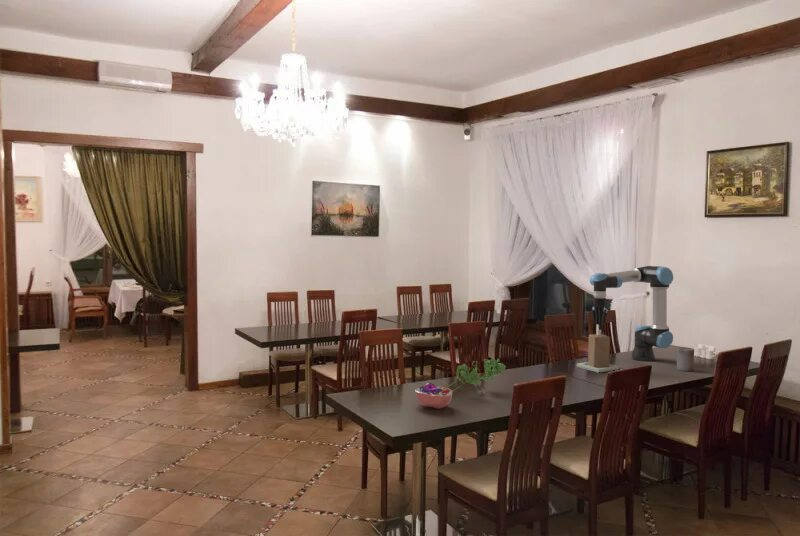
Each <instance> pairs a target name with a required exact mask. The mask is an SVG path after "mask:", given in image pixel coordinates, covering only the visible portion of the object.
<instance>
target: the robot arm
mask: <svg viewBox="0 0 800 536" xmlns="http://www.w3.org/2000/svg"><path fill="white" fill-rule="evenodd" d="M673 280H674V273H673V270H671V269H670V268H669V267H666V266H658V265H656V266H655V265H646V266H641V267H634V268H632V269H629V270H624V271H617V272H610V273H602V272H597V273H594V274H592V275H591V276H590V277H589V283H590V284H591V286H593V299H592V300H593V306H592V307H590V310H591V316H592V317H591V318H592V322H593V324H595V331H596V333H595V335H602V329H603V325H605V324H606V320H607V315H608V313H609V308H608V309H607V308H606V304H607V299H606V297H607V289H617V288H621V287H622V285H623V283H624V284H625V283H632V282H633V283H647V284H649V287H650V289H652V325H637V326H635V328H634V347H633V350H632V353H631V359H633V360H636V361H641V360H643V361H642V362H652V361H656V356H655V353H654V352H655V351H654V348H653V347H655V348H658V349H667V348H669V347H670V346H671V345H672V344H673V341H674V335H673V332H671V331H670V327H669V326H668V324H667V323H668V322H667V319H668V318H667V315H668V314H667V311H668V310H667V309H668V307H667V304H668V303H667V302H668V300H667V299H668V295H667V292H668V291H667V290H668V289H669V287H670V285H671V284H672V283H673Z"/></svg>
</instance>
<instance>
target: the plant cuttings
mask: <svg viewBox="0 0 800 536" xmlns="http://www.w3.org/2000/svg"><path fill="white" fill-rule="evenodd" d="M483 362H484V365H483V367H484V373H485V374H484V375H482V376H480V375H479V373H481V372H480V369H479V367H478V361H476V365H474V363H475V360H473V361H472V363H471V364H472V366H473V368H472V370H471V367H469V366H468V365H467V364H466V363H463V364H461V365H457V367H456V381H458V380H459V382H460V383H462V384H461V385H460V386H458V387H457V388H455V389H452V391H453V392H454V391H455V390H457V389H458V388H460V387H462V386H463V385H464V384H466V383H468V384H471V385H473V387H477V386H478V387H480V390H479V389H478V390H477V391H476V392H477V394H478V395H481V396H482V395H484V394H485V393H486V389H484V388H483V387H482V386H481V385H482V382H483V381H484V382H487V381H488V380H489V379H490V381H492V383H494V382H495V379H494V378H495V377H493V376H495V375H498V374H501V375H504V373H503V371H504V370H506V368H507V366H506V365H505V364H504V363H502V362H501V359H500V358H497V360H496V359H495V358H494V357H492V358H490V359H487V358H486V359H485V358H484V359H483ZM470 370H471V372H470ZM478 372H479V373H478ZM462 377H463V378H462ZM464 379H465V381H464ZM453 384H454V382H452V383H451V384H449V385H445V386H444V388H448V387H451V386H452V385H453ZM481 393H482V394H481Z"/></svg>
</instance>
